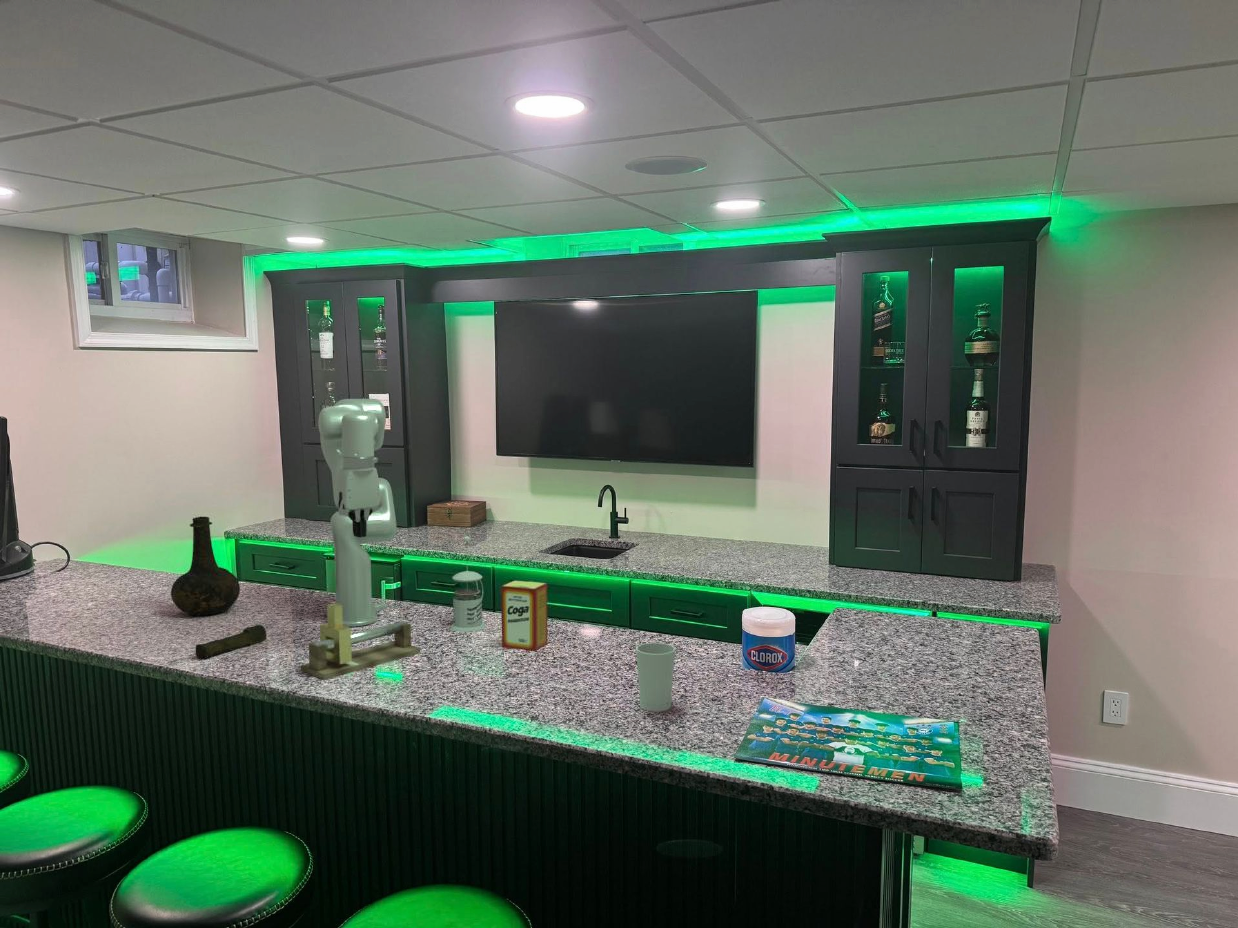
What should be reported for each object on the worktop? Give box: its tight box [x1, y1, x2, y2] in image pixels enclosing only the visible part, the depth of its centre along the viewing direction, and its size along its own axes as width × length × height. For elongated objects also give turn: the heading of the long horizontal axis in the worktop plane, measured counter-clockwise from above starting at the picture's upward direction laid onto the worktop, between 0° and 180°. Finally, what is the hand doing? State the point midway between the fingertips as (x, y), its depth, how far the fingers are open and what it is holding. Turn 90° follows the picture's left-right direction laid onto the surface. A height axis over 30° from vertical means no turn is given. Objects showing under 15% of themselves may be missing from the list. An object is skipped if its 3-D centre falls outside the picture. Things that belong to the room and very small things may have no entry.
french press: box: [449, 535, 487, 633], centre depth 233 cm, size 10×12×25 cm
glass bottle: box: [170, 516, 241, 617], centre depth 247 cm, size 18×18×28 cm
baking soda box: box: [500, 580, 548, 652], centre depth 215 cm, size 10×6×16 cm
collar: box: [319, 602, 352, 664], centre depth 196 cm, size 3×8×13 cm, turn 50°
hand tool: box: [194, 624, 267, 660], centre depth 212 cm, size 19×4×5 cm, turn 149°
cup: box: [635, 642, 676, 713], centre depth 173 cm, size 8×8×12 cm
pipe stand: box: [300, 620, 421, 681], centre depth 202 cm, size 26×10×7 cm, turn 140°
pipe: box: [314, 621, 407, 651], centre depth 202 cm, size 24×3×3 cm, turn 140°
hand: (359, 536), depth 213 cm, fingers closed
